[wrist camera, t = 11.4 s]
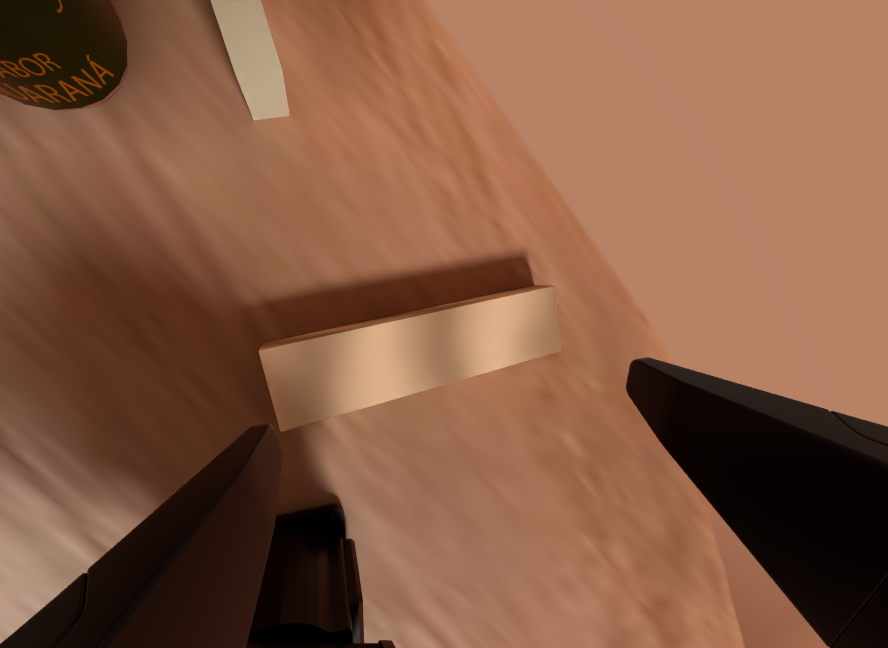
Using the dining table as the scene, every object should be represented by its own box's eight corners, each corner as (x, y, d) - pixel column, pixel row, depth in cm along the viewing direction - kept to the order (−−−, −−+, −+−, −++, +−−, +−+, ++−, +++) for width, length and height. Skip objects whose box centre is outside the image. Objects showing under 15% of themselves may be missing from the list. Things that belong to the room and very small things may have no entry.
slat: (284, 416, 18) (280, 432, 16) (264, 342, 18) (258, 350, 16) (541, 344, 23) (561, 350, 21) (534, 285, 22) (554, 286, 21)
